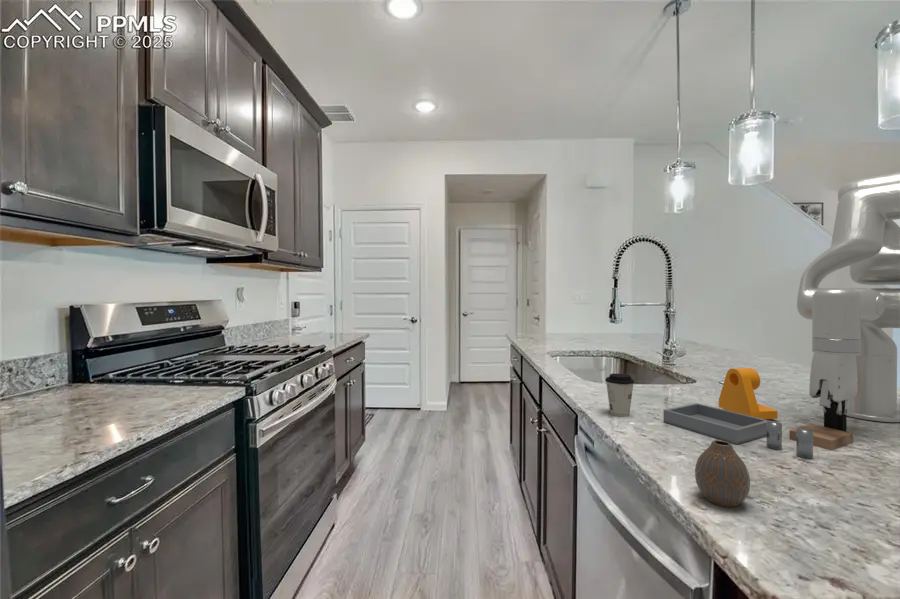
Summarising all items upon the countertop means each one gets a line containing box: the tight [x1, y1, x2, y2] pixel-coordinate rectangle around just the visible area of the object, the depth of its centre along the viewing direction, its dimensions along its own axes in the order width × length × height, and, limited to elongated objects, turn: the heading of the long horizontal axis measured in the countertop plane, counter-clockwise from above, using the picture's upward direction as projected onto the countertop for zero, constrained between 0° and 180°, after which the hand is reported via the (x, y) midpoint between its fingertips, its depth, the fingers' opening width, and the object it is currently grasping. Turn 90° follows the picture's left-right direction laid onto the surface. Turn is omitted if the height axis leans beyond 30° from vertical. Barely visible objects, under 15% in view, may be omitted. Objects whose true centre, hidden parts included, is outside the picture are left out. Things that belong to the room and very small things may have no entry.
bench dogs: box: [766, 420, 814, 460], centre depth 80 cm, size 2×7×5 cm, turn 26°
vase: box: [694, 439, 751, 508], centre depth 62 cm, size 7×7×9 cm
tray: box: [663, 402, 770, 446], centre depth 94 cm, size 13×17×3 cm
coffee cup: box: [604, 373, 635, 418], centre depth 105 cm, size 7×7×10 cm
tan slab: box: [788, 423, 854, 451], centre depth 85 cm, size 9×7×2 cm
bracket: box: [718, 367, 778, 420], centre depth 103 cm, size 11×7×12 cm, turn 3°
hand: (835, 431), depth 88 cm, fingers closed
